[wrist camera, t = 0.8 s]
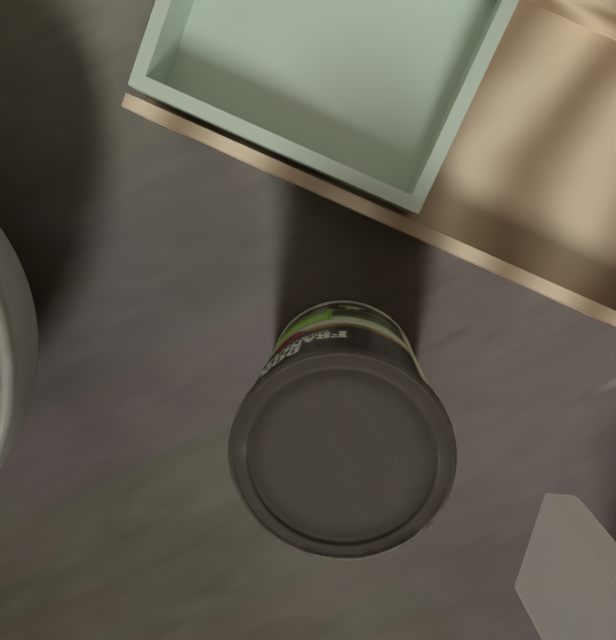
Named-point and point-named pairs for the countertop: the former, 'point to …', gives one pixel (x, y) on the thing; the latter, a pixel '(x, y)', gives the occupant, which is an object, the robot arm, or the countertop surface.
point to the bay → (507, 160)
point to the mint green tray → (328, 80)
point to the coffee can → (342, 438)
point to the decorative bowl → (15, 347)
